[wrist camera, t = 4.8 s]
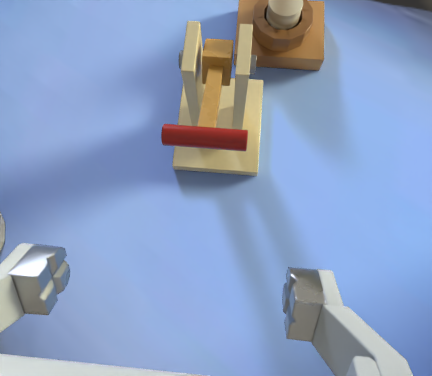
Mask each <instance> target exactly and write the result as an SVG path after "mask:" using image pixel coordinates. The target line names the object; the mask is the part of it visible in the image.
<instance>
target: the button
mask: <svg viewBox="0 0 432 376" xmlns="http://www.w3.org/2000/svg"><path fill="white" fill-rule="evenodd" d="M302 7H303V0H269V2H268V8H267V15H266V18H267V21H268V23H269V24H270V25H271V26H272V27H274V28H275V29H278V30H288V29H291V28H293V27H294V26H295V25H296V24H297V23H298V21H299V17H300V14H301V10H302Z"/></svg>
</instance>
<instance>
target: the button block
mask: <svg viewBox="0 0 432 376" xmlns="http://www.w3.org/2000/svg"><path fill="white" fill-rule="evenodd" d="M268 2H269V0H239V7H238V18H237V29H236V41H235V52H234V65H236V62H237V50H238V38H239V27H240V24H252V25H253V31H252V45H251V55H256V56H257V59H256V67H272V68H287V69H303V70H318V71H319V69H320V67H321V65H322V63H323V61H324V1H307V0H303V7H302V10H301V14H300V17H299V21H298V23H297V24H296V25H295V26H294V27H293V28H291V29H288V30H278V29H275V28H274V27H272V26H271V25H270V24H269V23H268V21H267V18H266V15H267V8H268Z"/></svg>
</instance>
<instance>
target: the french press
mask: <svg viewBox="0 0 432 376" xmlns="http://www.w3.org/2000/svg"><path fill="white" fill-rule="evenodd" d="M4 242H5V222H4V219H3V217H2V215H1V212H0V251H1V249H2V246H3V244H4Z"/></svg>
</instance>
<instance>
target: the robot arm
mask: <svg viewBox="0 0 432 376" xmlns="http://www.w3.org/2000/svg"><path fill="white" fill-rule="evenodd" d="M66 256H67V255H66V251H65V248H63V247H57V246H48V245H39V244H28V243H22V244H19V245H18V246H17V247H16V248H15V249H14V250H13V251H12V252H11V253H10V255H9V256H8V257H7V258H6V259H5V260H4V261H3V262H2V263H1V264H0V332H2V331H3V330H5V329H6V328H7V327H9V326H10V325H11V324H13V323H14V322H15V321H17V320H18V319H20V318H21V317H22V316H24V314H39V315H49V313H50V312H51V310H52V309H53V307H54V305H55V304H56V302H57V301H58V299H57V294H59V293H61V292H62V291H64V289H65V288H66V286H67V284H68V281H69V278H70V268H69V264H67V263H66V262H65V261H64V259H65V257H66ZM286 280H287V283H285V284H284V288H283V296H282V305H283V312H284V313H285V314H286V317H285V322H284V323H285V331H286V338H287V339H293V340H301V341H309V342H312V345H313V346H314V347H315V349H316V350H317V351H318V353H319V354H320V355H321V357H322V358H323V360H324V361H325V362H326V364H327V365H328V366H329V368H330V369H331V371H332V372H333V373H334V375H335V376H413V374H412V372H411V369H410V367H409V365H408V363H407V360H406V359H405V358H404V357H402V356H401V355H400V354H399V353H398V352H397V351H396V350H395V349H394V348H393V347H392V346H390V345H389V344H388V343H387V342H386V341H385V340H384V339H383V338H382V337H381V336H380V335H378V334H377V333H376V332H375V331H374V330H373V329H372V328H371V327H370V326H369V325H367V324H366V323H365V322H364V321H363V320H362V319H361V318H360V317H359V316H358V315H357V314H355V313H354V312H353V311H352V310H351V309H350V308H349V307H344V305H343V302H342V299H341V296H340V293H339V290H338V287H337V284H336V280H335V277H334V274H333V272H332V271H331V270H321V269H317V270H316V269H305V268H293V267H288V269H287V273H286ZM0 376H207V375H197V374H188V373H178V372H169V371H159V370H150V369H140V368H131V367H121V366H111V365H102V364H92V363H83V362H73V361H64V360H54V359H45V358H35V357H25V356H16V355H6V354H0Z"/></svg>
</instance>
